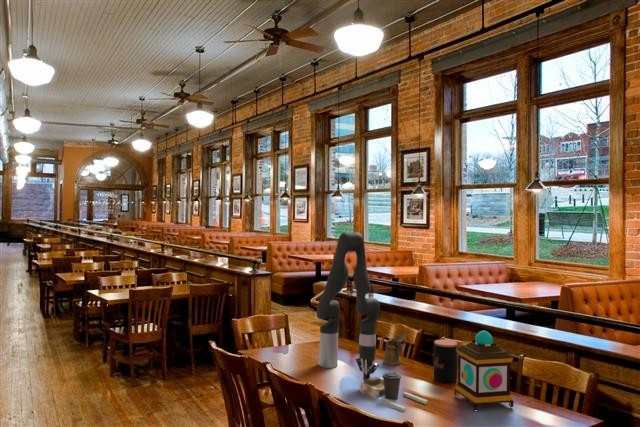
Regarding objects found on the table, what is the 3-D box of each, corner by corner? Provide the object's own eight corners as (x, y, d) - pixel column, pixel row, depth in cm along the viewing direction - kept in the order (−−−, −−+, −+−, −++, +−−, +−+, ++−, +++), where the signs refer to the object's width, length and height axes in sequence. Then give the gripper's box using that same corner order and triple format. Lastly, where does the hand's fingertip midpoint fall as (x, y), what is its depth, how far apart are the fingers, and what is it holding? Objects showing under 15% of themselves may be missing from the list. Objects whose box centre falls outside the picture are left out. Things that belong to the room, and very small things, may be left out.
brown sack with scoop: (397, 368, 254) (398, 333, 254) (379, 362, 265) (380, 328, 265) (410, 366, 259) (411, 331, 259) (392, 359, 270) (392, 326, 270)
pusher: (363, 390, 222) (364, 379, 222) (375, 386, 226) (375, 376, 226) (378, 396, 214) (378, 385, 214) (390, 392, 219) (390, 382, 219)
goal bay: (381, 402, 208) (381, 399, 208) (405, 394, 217) (405, 392, 217) (403, 411, 198) (403, 408, 198) (427, 403, 207) (427, 400, 207)
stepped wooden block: (360, 392, 219) (360, 383, 219) (380, 386, 227) (380, 377, 227) (376, 399, 212) (376, 389, 212) (397, 392, 219) (397, 383, 219)
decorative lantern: (449, 395, 217) (450, 326, 217) (491, 392, 221) (492, 324, 222) (474, 413, 198) (475, 337, 198) (518, 410, 202) (519, 335, 202)
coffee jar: (430, 377, 242) (431, 339, 242) (452, 376, 243) (452, 339, 243) (437, 384, 231) (438, 345, 231) (460, 384, 232) (460, 345, 232)
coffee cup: (400, 394, 217) (400, 371, 217) (402, 401, 209) (402, 377, 209) (381, 393, 218) (381, 370, 218) (382, 400, 210) (382, 376, 210)
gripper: (351, 341, 228) (350, 379, 228) (371, 347, 218) (370, 387, 218) (363, 338, 233) (362, 376, 233) (383, 345, 222) (383, 384, 222)
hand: (366, 381), depth 225 cm, fingers closed
